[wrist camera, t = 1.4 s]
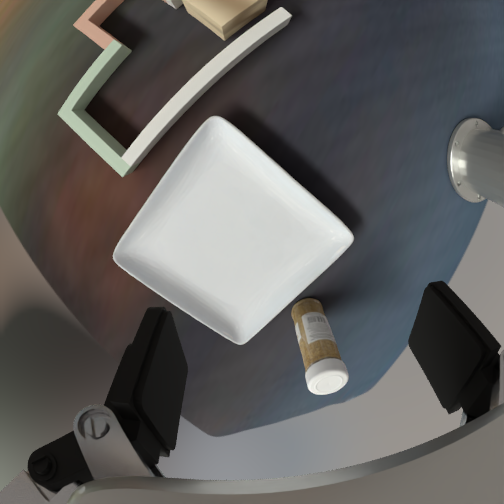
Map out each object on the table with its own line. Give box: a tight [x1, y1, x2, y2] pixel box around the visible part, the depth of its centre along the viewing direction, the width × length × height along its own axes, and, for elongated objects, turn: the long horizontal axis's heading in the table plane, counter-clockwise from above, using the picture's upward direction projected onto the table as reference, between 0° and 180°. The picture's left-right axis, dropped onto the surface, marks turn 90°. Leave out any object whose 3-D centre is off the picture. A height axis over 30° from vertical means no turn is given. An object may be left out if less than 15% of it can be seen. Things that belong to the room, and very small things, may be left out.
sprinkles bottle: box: [291, 298, 349, 395], centre depth 32 cm, size 5×5×14 cm
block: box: [182, 0, 267, 41], centre depth 19 cm, size 6×6×5 cm
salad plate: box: [113, 116, 354, 345], centre depth 32 cm, size 21×21×3 cm
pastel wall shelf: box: [58, 0, 292, 177], centre depth 21 cm, size 24×19×3 cm
